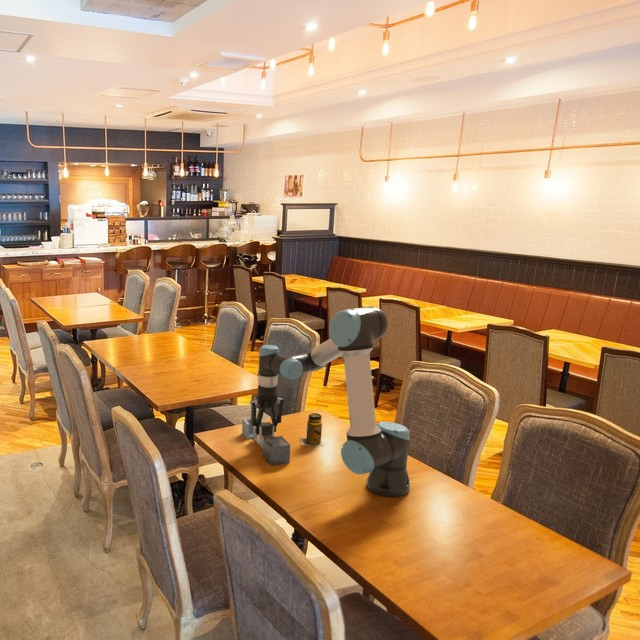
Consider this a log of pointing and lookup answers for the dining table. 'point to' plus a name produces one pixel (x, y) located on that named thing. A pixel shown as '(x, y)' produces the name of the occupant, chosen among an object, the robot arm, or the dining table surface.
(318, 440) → the yellow drink bottle
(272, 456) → the sleeve
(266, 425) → the light gray bar
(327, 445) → the dining table surface
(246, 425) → the socket
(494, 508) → the dining table surface
